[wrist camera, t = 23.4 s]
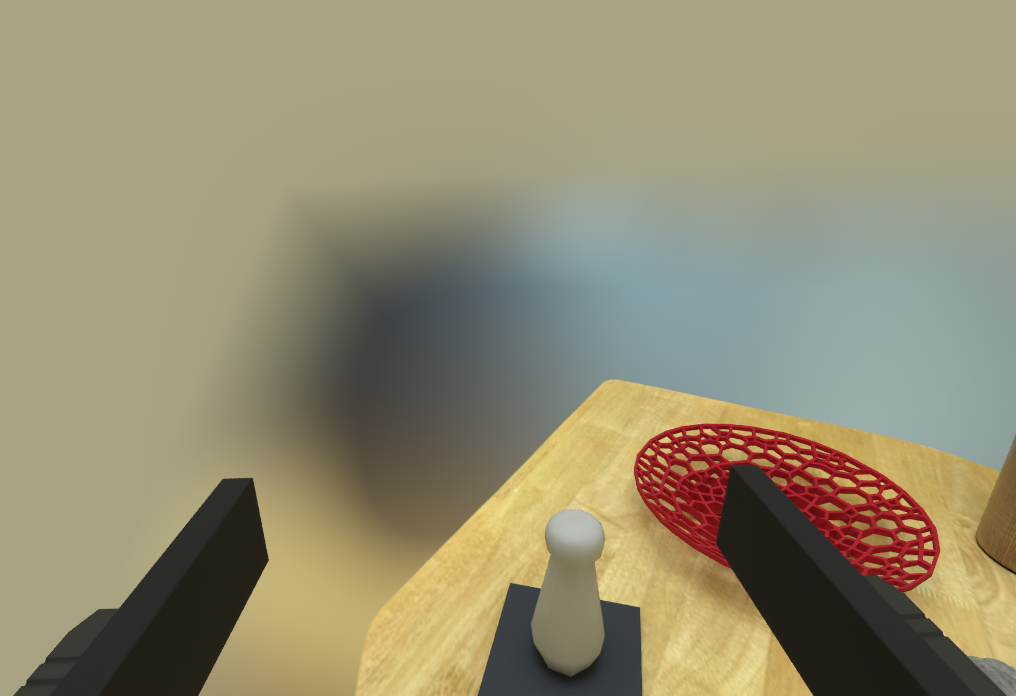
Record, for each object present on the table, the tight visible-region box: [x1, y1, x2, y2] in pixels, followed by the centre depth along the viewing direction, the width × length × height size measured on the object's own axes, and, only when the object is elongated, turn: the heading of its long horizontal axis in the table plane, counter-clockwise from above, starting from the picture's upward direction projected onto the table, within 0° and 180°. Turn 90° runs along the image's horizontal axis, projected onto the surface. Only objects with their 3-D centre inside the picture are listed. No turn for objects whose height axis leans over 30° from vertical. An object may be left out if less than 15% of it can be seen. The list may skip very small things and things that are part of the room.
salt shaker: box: [531, 509, 605, 677], centre depth 38 cm, size 6×6×13 cm
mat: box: [478, 583, 642, 696], centre depth 40 cm, size 12×12×1 cm
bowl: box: [634, 424, 940, 592], centre depth 56 cm, size 29×29×5 cm
